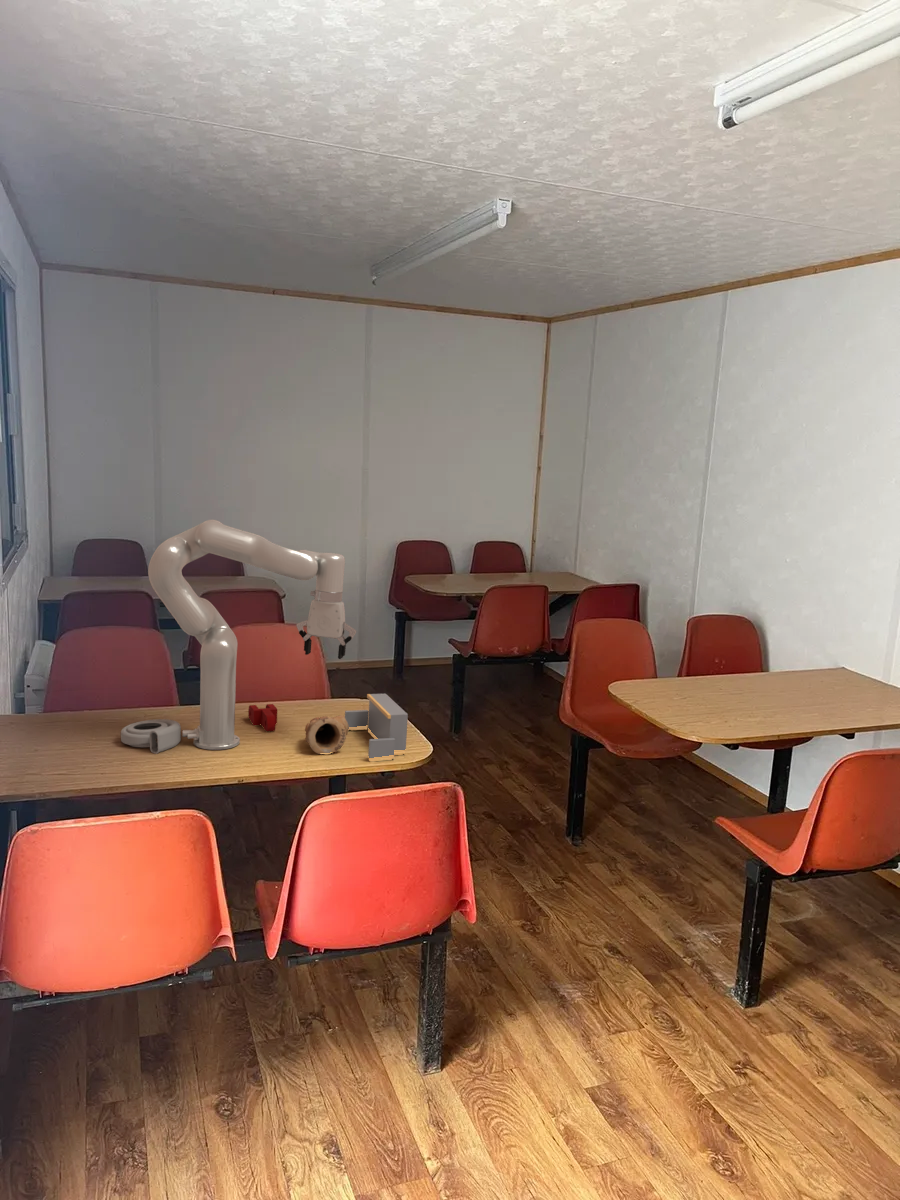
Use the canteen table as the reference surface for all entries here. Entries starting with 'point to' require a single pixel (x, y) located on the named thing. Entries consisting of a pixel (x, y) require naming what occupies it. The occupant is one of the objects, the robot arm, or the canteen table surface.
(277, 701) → the canteen table surface
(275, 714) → the mechanical linkage
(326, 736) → the clay pipe
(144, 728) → the turbocharger housing
